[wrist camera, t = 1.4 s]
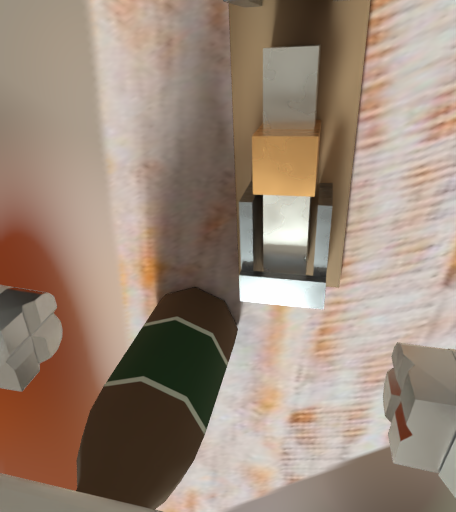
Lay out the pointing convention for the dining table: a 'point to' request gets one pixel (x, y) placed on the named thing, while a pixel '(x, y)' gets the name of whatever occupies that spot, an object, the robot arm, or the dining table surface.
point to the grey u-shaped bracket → (281, 284)
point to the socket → (251, 2)
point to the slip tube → (287, 154)
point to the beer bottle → (157, 402)
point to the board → (328, 102)
